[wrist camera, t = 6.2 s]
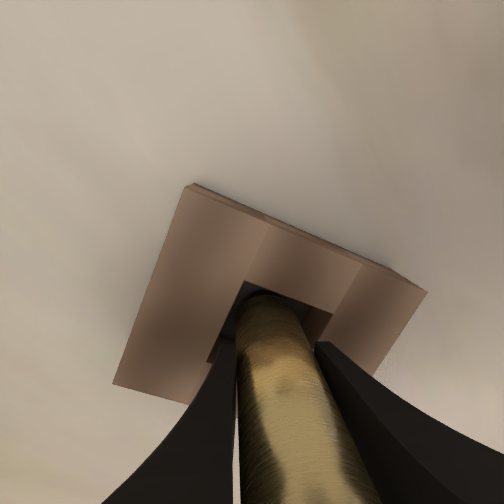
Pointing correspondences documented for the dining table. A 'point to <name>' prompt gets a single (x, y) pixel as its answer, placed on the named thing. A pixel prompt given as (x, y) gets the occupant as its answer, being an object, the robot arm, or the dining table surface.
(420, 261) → the dining table surface
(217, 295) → the walnut block
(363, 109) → the dining table surface
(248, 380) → the brass peg
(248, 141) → the dining table surface
